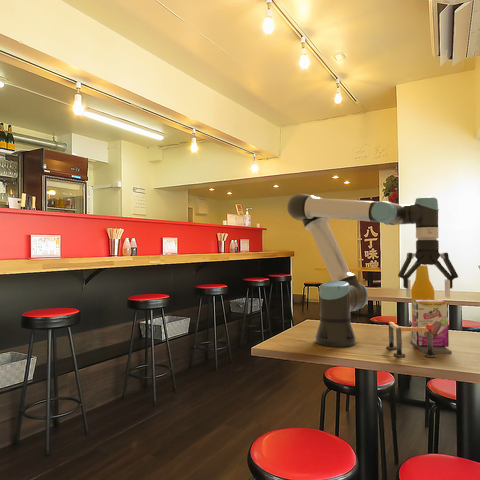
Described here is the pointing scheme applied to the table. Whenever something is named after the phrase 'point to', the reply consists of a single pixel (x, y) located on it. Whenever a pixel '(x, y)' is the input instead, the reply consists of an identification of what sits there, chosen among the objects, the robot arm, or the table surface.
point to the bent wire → (399, 341)
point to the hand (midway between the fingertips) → (427, 297)
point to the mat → (434, 349)
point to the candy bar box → (431, 322)
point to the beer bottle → (422, 286)
